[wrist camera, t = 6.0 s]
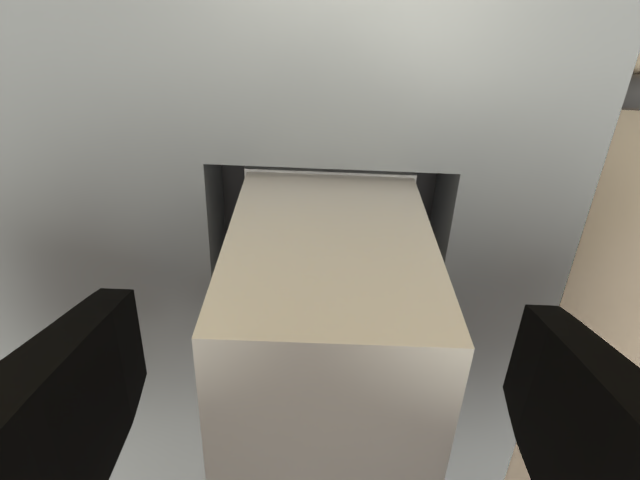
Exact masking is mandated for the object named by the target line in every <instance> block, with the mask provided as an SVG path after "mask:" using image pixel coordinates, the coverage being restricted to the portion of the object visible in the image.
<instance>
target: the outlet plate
mask: <svg viewBox="0 0 640 480" xmlns="http://www.w3.org/2000/svg"><path fill="white" fill-rule="evenodd" d="M639 52H640V0H0V360H1V359H3V358H4V357H6V356H7V355H8V354H10V353H11V352H13V351H14V350H15V349H17V348H18V347H20V346H21V345H22V344H24V343H25V342H27V341H28V340H29V339H31V338H32V337H33V336H35V335H36V334H38V333H39V332H40V331H42V330H43V329H45V328H46V327H47V326H49V325H50V324H51V323H53V322H54V321H55V320H57V319H58V318H59V317H61V316H62V315H63V314H65V313H66V312H68V311H69V310H70V309H72V308H73V307H74V306H76V305H77V304H78V303H80V302H81V301H83V300H84V299H85V298H87V297H88V296H90V295H91V294H92V293H94V292H96V291H97V290H99V289H100V288H110V289H134V294H135V300H136V307H137V313H138V319H139V326H140V332H141V339H142V345H143V351H144V358H145V364H146V370H147V376H146V379H145V383H144V387H143V390H142V394H141V398H140V401H139V405H138V408H137V411H136V415H135V418H134V421H133V424H132V427H131V429H130V432H129V434H128V436H127V439H126V441H125V443H124V446H123V448H122V451H121V453H120V455H119V458H118V460H117V462H116V465H115V467H114V469H113V472H112V474H111V476H110V478H109V480H206V476H205V466H204V457H203V447H202V437H201V427H200V417H199V408H198V398H197V388H196V378H195V368H194V359H193V349H192V336H193V332H194V329H195V326H196V323H197V320H198V317H199V314H200V311H201V308H202V305H203V302H204V299H205V296H206V293H207V290H208V287H209V284H210V281H211V278H212V275H213V272H214V269H215V266H216V263H217V260H218V257H219V254H220V251H221V248H222V245H223V242H224V239H225V236H226V233H227V230H228V227H229V224H230V221H231V218H232V215H233V212H234V209H235V206H236V203H237V200H238V197H239V194H240V191H241V188H242V185H243V182H244V179H245V176H244V168H245V166H264V167H290V168H315V169H341V170H366V171H392V172H416V174H417V179H416V185H417V188H418V190H419V193H420V196H421V199H422V202H423V204H424V207H425V210H426V213H427V216H428V219H429V221H430V224H431V227H432V230H433V233H434V235H435V238H436V241H437V244H438V247H439V250H440V252H441V255H442V258H443V261H444V264H445V266H446V269H447V272H448V275H449V278H450V281H451V283H452V286H453V289H454V292H455V295H456V297H457V300H458V303H459V306H460V309H461V312H462V314H463V317H464V320H465V323H466V326H467V328H468V331H469V334H470V337H471V340H472V343H473V345H474V348H475V350H474V354H473V359H472V363H471V367H470V371H469V376H468V380H467V384H466V389H465V393H464V397H463V402H462V406H461V410H460V415H459V419H458V423H457V428H456V432H455V436H454V440H453V445H452V449H451V453H450V458H449V462H448V466H447V471H446V475H445V479H444V480H504V479H505V476H506V473H507V469H508V466H509V463H510V460H511V457H512V454H513V450H514V447H515V444H516V439H515V436H514V432H513V428H512V424H511V420H510V417H509V413H508V408H507V404H506V399H505V395H504V391H503V384H504V380H505V376H506V373H507V369H508V365H509V362H510V358H511V354H512V351H513V347H514V344H515V340H516V336H517V333H518V329H519V325H520V322H521V318H522V314H523V311H524V307H525V304H527V305H553V306H559V305H560V302H561V299H562V295H563V292H564V289H565V286H566V283H567V280H568V276H569V273H570V270H571V267H572V264H573V261H574V257H575V254H576V251H577V248H578V245H579V242H580V238H581V235H582V232H583V229H584V226H585V223H586V219H587V216H588V213H589V210H590V207H591V204H592V200H593V197H594V194H595V191H596V188H597V185H598V181H599V178H600V175H601V172H602V169H603V166H604V162H605V159H606V156H607V153H608V150H609V147H610V143H611V140H612V137H613V134H614V131H615V128H616V124H617V121H618V118H619V115H620V112H621V109H622V105H623V102H624V99H625V96H626V93H627V90H628V86H629V83H630V80H631V77H632V74H633V71H634V67H635V64H636V61H637V58H638V55H639Z"/></svg>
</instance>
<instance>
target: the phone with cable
mask: <svg viewBox="0 0 640 480" xmlns="http://www.w3.org/2000/svg"><path fill="white" fill-rule="evenodd" d="M621 110H640V74H632V77H631V80H630V83H629V86H628V90H627V93H626V96H625V99H624V102H623V105H622V109H621Z"/></svg>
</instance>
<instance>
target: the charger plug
mask: <svg viewBox="0 0 640 480" xmlns="http://www.w3.org/2000/svg"><path fill="white" fill-rule="evenodd" d="M244 176H245V179H244V182H243V185H242V188H241V191H240V194H239V197H238V200H237V203H236V206H235V209H234V212H233V215H232V218H231V221H230V224H229V227H228V230H227V233H226V236H225V239H224V242H223V245H222V248H221V251H220V254H219V257H218V260H217V263H216V266H215V269H214V272H213V275H212V278H211V281H210V284H209V287H208V290H207V293H206V296H205V299H204V302H203V305H202V308H201V311H200V314H199V317H198V320H197V323H196V326H195V329H194V332H193V336H192V349H193V359H194V368H195V378H196V388H197V398H198V408H199V417H200V427H201V437H202V447H203V457H204V466H205V476H206V480H444V479H445V475H446V471H447V466H448V462H449V458H450V453H451V449H452V445H453V440H454V436H455V432H456V428H457V423H458V419H459V415H460V410H461V406H462V402H463V397H464V393H465V389H466V384H467V380H468V376H469V371H470V367H471V363H472V359H473V354H474V350H475V348H474V345H473V343H472V340H471V337H470V334H469V331H468V328H467V326H466V323H465V320H464V317H463V314H462V312H461V309H460V306H459V303H458V300H457V297H456V295H455V292H454V289H453V286H452V283H451V281H450V278H449V275H448V272H447V269H446V266H445V264H444V261H443V258H442V255H441V252H440V250H439V247H438V244H437V241H436V238H435V235H434V233H433V230H432V227H431V224H430V221H429V219H428V216H427V213H426V210H425V207H424V204H423V202H422V199H421V196H420V193H419V190H418V188H417V185H416V179H417V174H416V172H392V171H366V170H341V169H315V168H290V167H264V166H245V168H244Z"/></svg>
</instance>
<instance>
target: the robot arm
mask: <svg viewBox="0 0 640 480" xmlns="http://www.w3.org/2000/svg"><path fill="white" fill-rule="evenodd" d="M146 376H147V370H146V364H145V358H144V351H143V345H142V339H141V332H140V326H139V319H138V313H137V307H136V300H135V294H134V289H110V288H100V289H99V290H97V291H96V292H94V293H92V294H91V295H90V296H88V297H87V298H85V299H84V300H83V301H81V302H80V303H78V304H77V305H76V306H74V307H73V308H72V309H70V310H69V311H68V312H66V313H65V314H63V315H62V316H61V317H59V318H58V319H57V320H55V321H54V322H53V323H51V324H50V325H49V326H47V327H46V328H45V329H43V330H42V331H40V332H39V333H38V334H36V335H35V336H33V337H32V338H31V339H29V340H28V341H27V342H25V343H24V344H22V345H21V346H20V347H18V348H17V349H15V350H14V351H13V352H11V353H10V354H8V355H7V356H6V357H4V358H3V359H1V360H0V480H109V478H110V476H111V474H112V472H113V469H114V467H115V465H116V462H117V460H118V458H119V455H120V453H121V451H122V448H123V446H124V443H125V441H126V439H127V436H128V434H129V432H130V429H131V427H132V424H133V421H134V418H135V415H136V411H137V408H138V405H139V401H140V398H141V394H142V390H143V387H144V383H145V379H146ZM503 391H504V395H505V399H506V404H507V408H508V413H509V417H510V420H511V424H512V428H513V432H514V436H515V439H516V442H517V444H518V447H519V450H520V452H521V455H522V458H523V460H524V463H525V465H526V468H527V471H528V473H529V476H530V478H531V480H640V368H639V367H638V366H636V365H635V364H634V363H633V362H631V361H630V360H629V359H627V358H626V357H625V356H624V355H622V354H621V353H620V352H618V351H617V350H616V349H615V348H613V347H612V346H611V345H610V344H608V343H607V342H606V341H605V340H603V339H602V338H601V337H599V336H598V335H597V334H596V333H594V332H593V331H592V330H591V329H589V328H588V327H587V326H585V325H584V324H583V323H582V322H580V321H579V320H578V319H576V318H575V317H574V316H572V315H571V314H570V313H568V312H567V311H565V310H564V309H562V308H561V307H560V306H553V305H527V304H525V307H524V311H523V314H522V318H521V322H520V325H519V329H518V333H517V336H516V340H515V344H514V347H513V351H512V354H511V358H510V362H509V365H508V369H507V373H506V376H505V380H504V384H503Z"/></svg>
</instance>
